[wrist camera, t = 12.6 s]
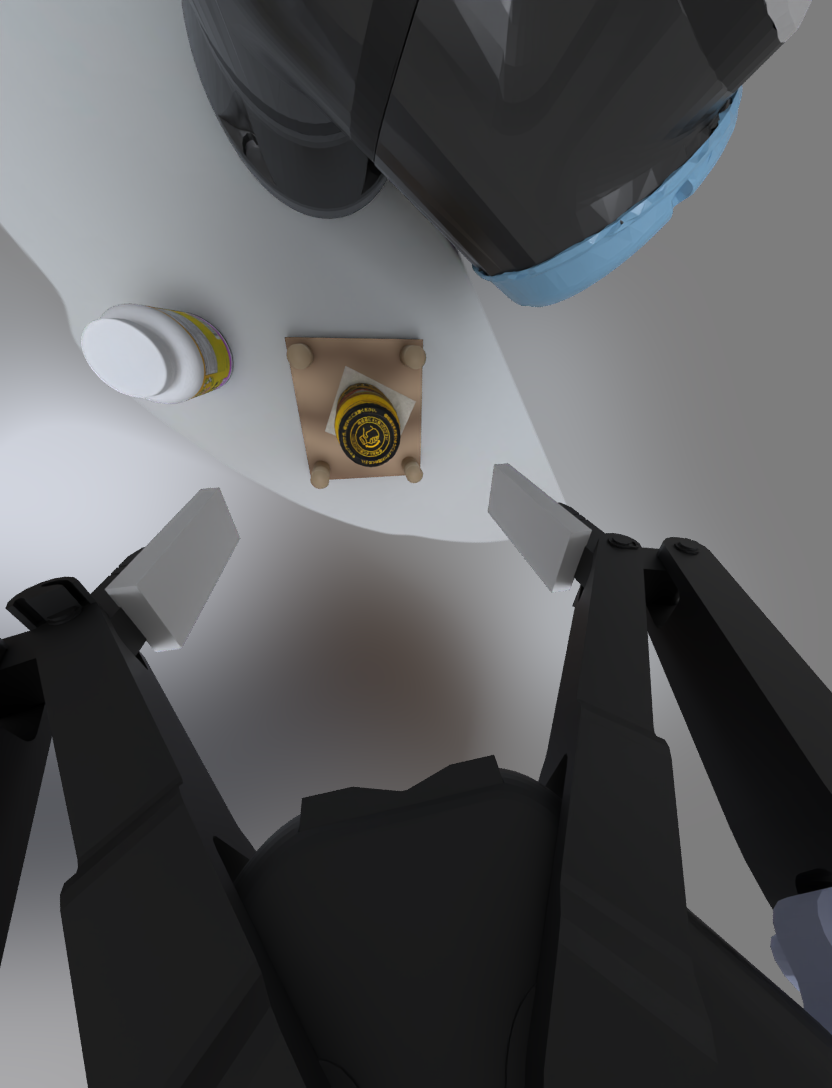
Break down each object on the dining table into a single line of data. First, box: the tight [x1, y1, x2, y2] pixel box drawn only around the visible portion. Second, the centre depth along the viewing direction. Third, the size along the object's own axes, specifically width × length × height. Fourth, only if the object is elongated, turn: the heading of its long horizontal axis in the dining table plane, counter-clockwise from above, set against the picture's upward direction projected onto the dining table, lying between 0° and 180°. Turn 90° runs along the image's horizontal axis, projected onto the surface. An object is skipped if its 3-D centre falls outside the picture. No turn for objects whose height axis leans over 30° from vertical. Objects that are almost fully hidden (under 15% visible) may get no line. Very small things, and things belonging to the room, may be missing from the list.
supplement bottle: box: [81, 304, 233, 404], centre depth 26 cm, size 7×7×13 cm
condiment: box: [325, 366, 416, 467], centre depth 31 cm, size 7×8×12 cm
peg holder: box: [285, 337, 426, 489], centre depth 35 cm, size 15×14×6 cm
